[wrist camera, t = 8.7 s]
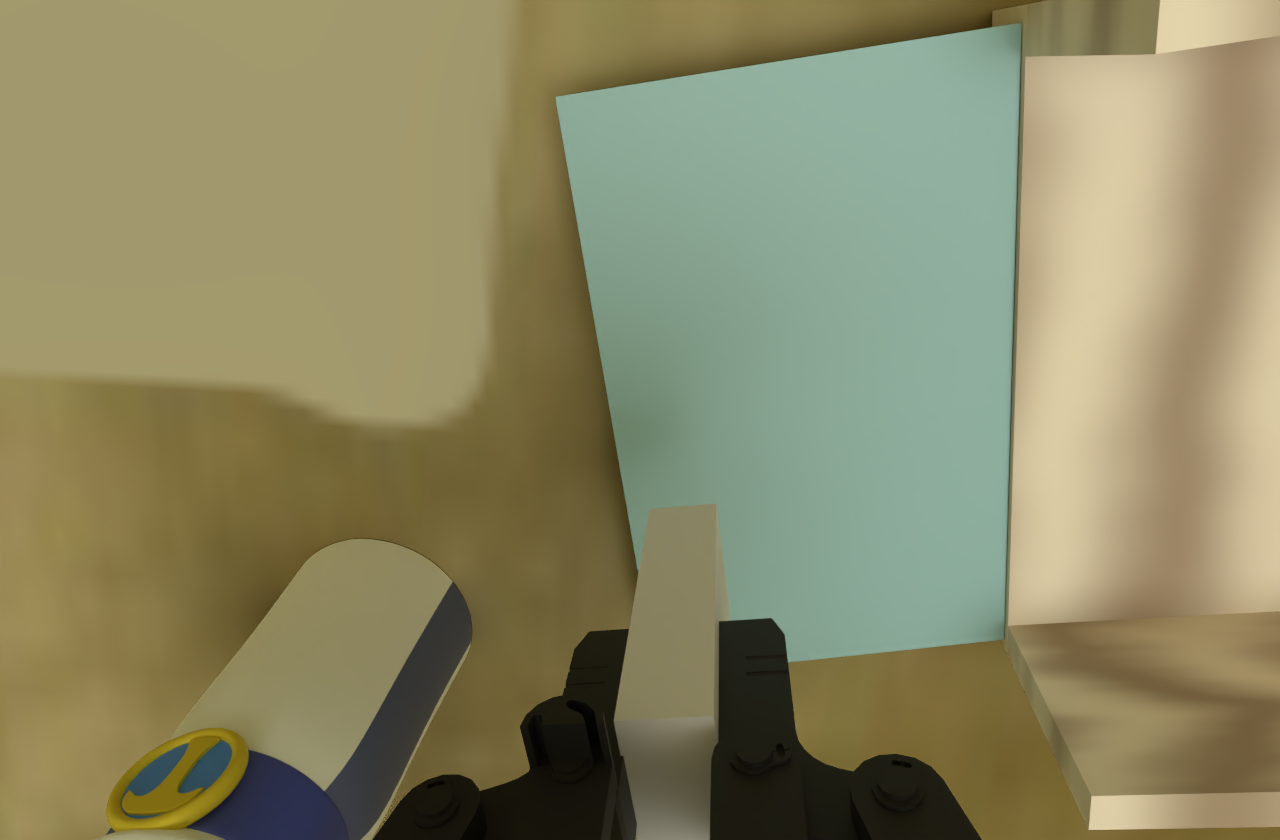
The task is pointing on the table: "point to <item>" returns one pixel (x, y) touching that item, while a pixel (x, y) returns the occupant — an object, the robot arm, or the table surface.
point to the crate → (1149, 406)
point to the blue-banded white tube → (309, 708)
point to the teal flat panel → (817, 326)
